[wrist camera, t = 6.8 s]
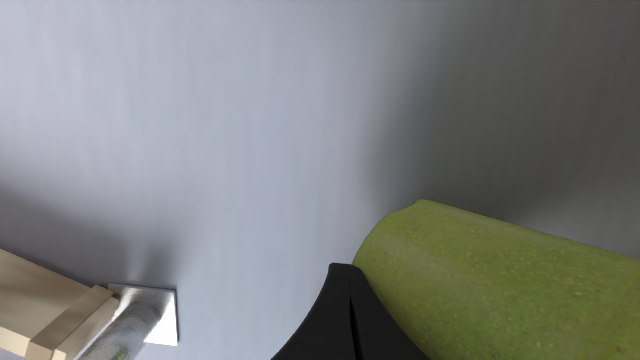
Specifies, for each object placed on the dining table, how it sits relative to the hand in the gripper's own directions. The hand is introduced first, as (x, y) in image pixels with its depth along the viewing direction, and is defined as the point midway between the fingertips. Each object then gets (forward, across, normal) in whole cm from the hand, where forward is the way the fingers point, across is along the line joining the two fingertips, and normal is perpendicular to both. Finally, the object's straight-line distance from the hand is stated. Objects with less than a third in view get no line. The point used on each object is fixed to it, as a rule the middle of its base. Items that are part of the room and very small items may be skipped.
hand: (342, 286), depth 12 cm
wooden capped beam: (+4, +16, +4) cm, 17 cm away
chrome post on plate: (+4, +10, +6) cm, 12 cm away
